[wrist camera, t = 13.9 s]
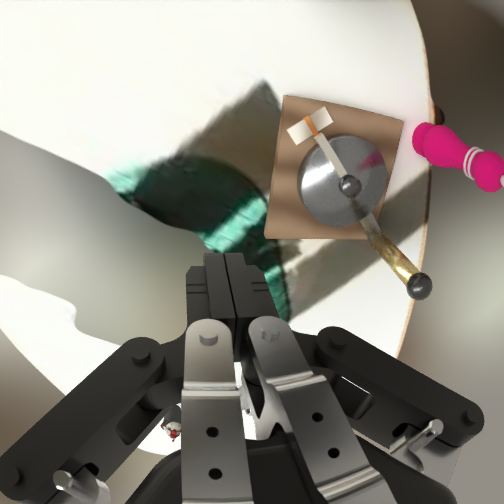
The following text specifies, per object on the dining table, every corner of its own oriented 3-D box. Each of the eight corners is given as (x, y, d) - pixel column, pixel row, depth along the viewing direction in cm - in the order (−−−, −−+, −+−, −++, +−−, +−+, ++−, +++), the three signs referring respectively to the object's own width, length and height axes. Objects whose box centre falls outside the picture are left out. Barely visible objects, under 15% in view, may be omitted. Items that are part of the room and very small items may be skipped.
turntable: (270, 161, 39) (316, 216, 26) (348, 104, 36) (428, 131, 23) (345, 263, 52) (391, 330, 38) (403, 218, 49) (462, 272, 36)
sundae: (171, 384, 67) (173, 437, 55) (189, 393, 71) (195, 444, 58) (154, 392, 68) (155, 443, 56) (173, 401, 72) (176, 450, 60)
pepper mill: (442, 139, 44) (524, 183, 28) (421, 165, 46) (501, 217, 30) (426, 111, 40) (517, 148, 24) (403, 138, 43) (492, 184, 26)
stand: (283, 94, 36) (288, 96, 35) (398, 119, 41) (405, 122, 39) (263, 234, 48) (266, 240, 47) (367, 235, 53) (373, 240, 51)
